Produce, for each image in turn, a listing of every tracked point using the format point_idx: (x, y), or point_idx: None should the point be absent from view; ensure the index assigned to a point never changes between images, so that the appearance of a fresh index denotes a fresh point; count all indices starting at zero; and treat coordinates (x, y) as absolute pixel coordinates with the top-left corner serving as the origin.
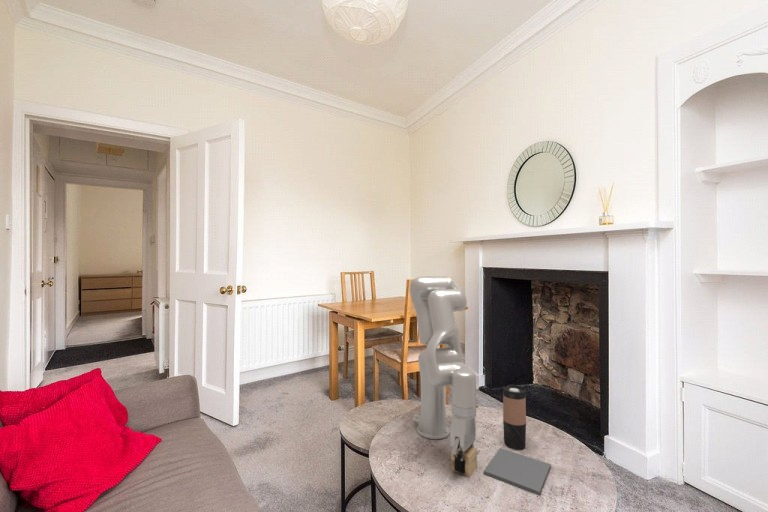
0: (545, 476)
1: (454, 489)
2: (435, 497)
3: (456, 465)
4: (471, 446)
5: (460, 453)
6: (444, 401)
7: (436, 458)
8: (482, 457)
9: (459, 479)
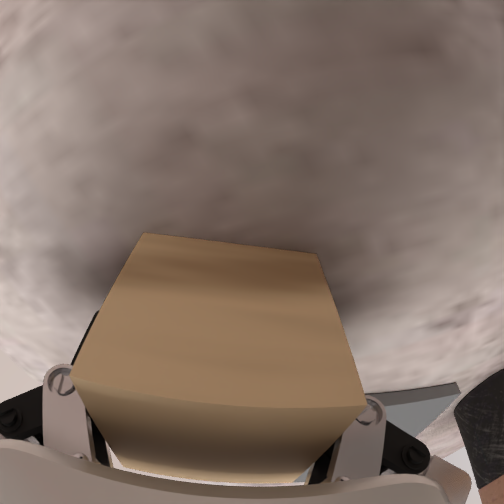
0: (300, 481)
1: (12, 298)
2: None
3: (87, 333)
4: (309, 469)
5: (111, 438)
6: None
7: (253, 35)
8: (399, 356)
9: (88, 306)
